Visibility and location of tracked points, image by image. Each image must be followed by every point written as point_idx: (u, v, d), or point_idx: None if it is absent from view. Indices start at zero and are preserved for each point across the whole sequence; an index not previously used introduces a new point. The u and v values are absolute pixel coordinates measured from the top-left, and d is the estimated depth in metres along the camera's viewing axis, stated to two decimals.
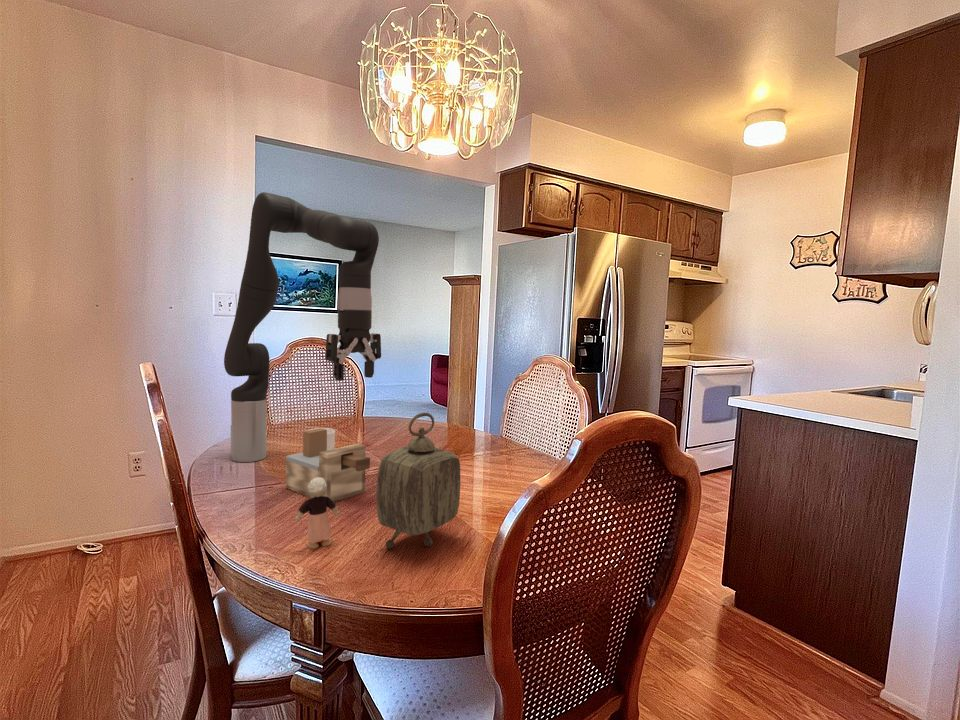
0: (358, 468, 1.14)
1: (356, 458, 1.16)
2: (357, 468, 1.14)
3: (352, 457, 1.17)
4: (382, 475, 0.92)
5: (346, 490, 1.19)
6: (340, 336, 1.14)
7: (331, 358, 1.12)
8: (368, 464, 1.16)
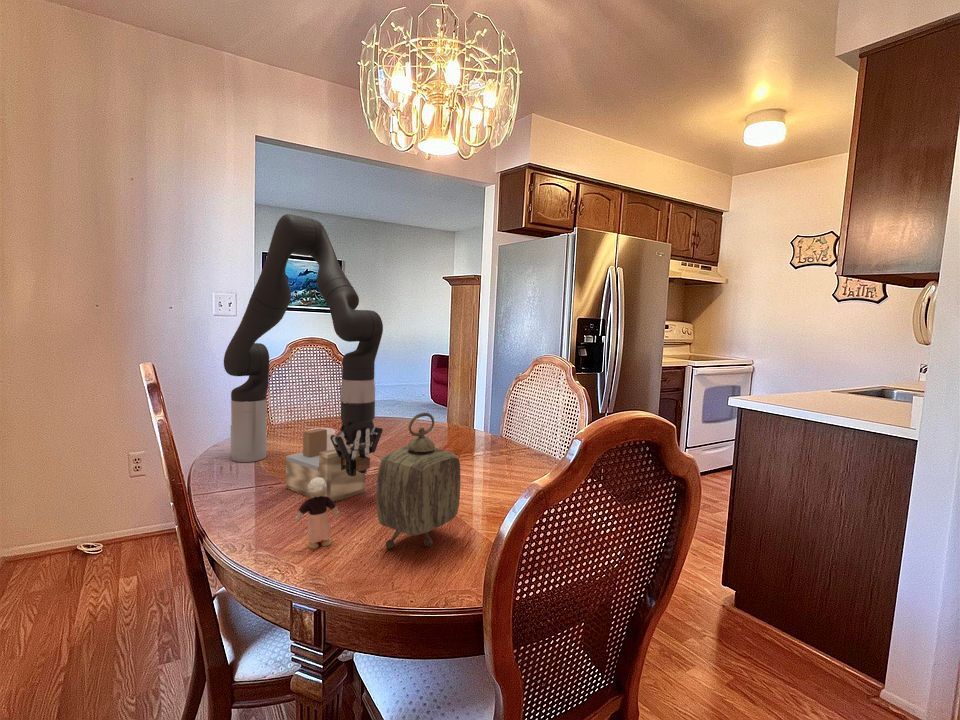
0: (358, 468, 1.14)
1: (356, 458, 1.16)
2: (357, 468, 1.14)
3: None
4: (382, 475, 0.92)
5: (346, 490, 1.19)
6: (343, 433, 1.12)
7: (344, 456, 1.12)
8: (368, 464, 1.16)
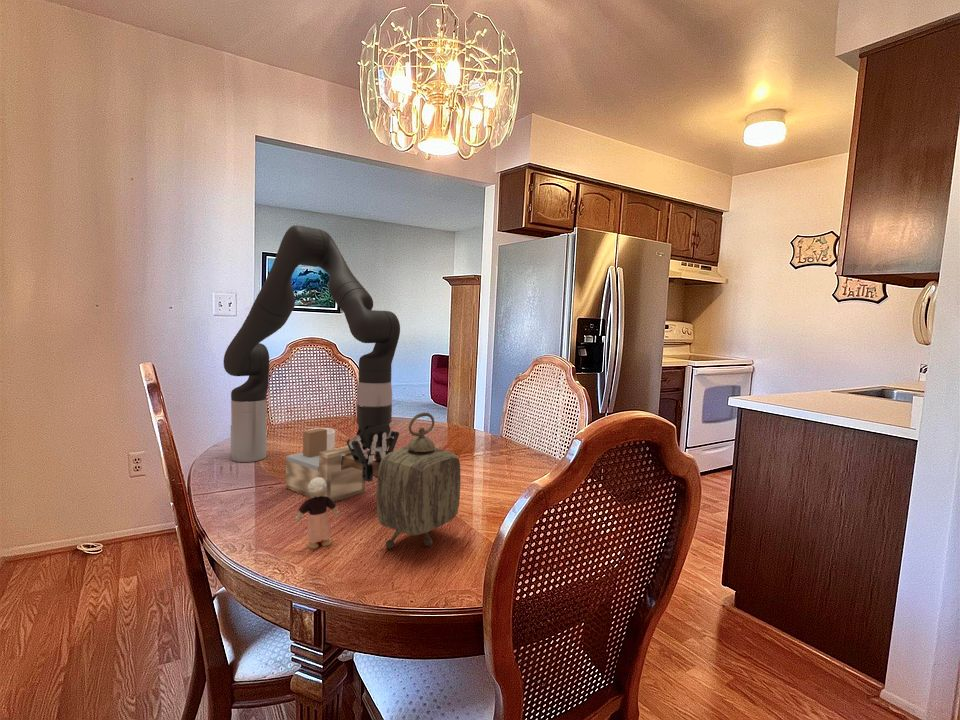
0: (375, 473, 1.10)
1: (372, 463, 1.13)
2: (374, 473, 1.10)
3: None
4: (382, 475, 0.92)
5: (346, 490, 1.19)
6: (359, 437, 1.09)
7: (360, 461, 1.09)
8: None
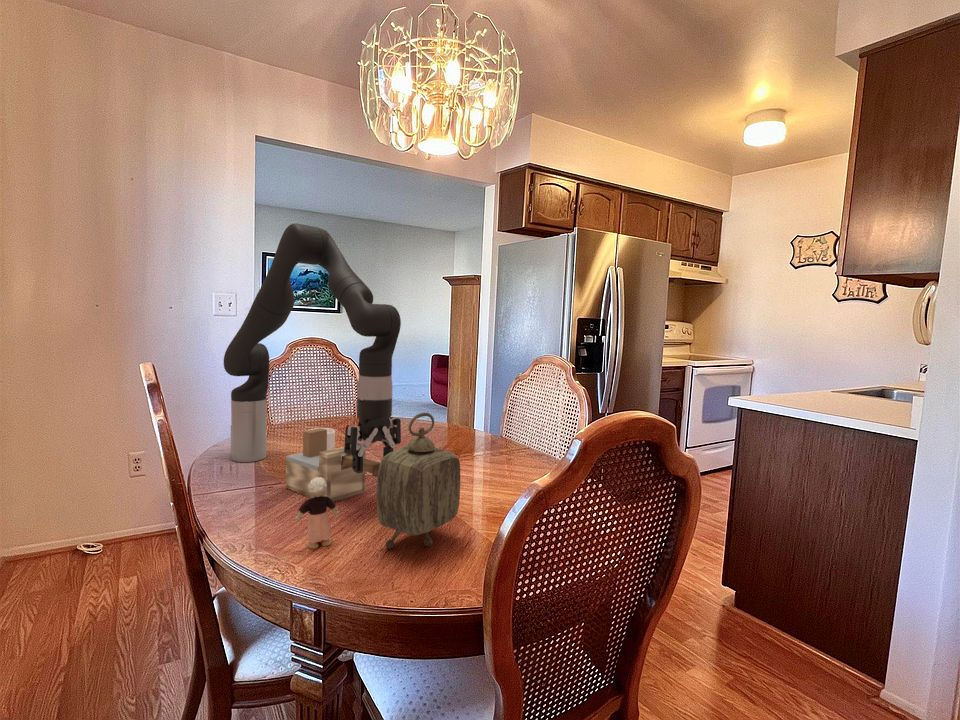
0: (375, 473, 1.10)
1: (372, 463, 1.13)
2: (374, 473, 1.10)
3: (368, 462, 1.14)
4: (382, 475, 0.92)
5: (346, 490, 1.19)
6: (359, 427, 1.08)
7: (350, 452, 1.06)
8: None
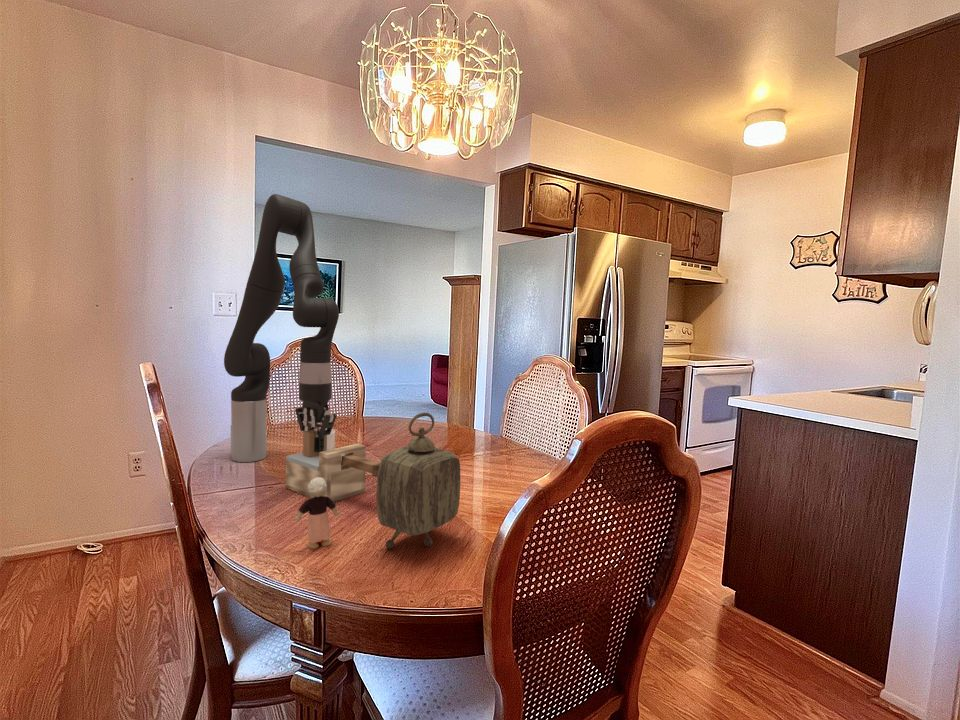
0: (375, 473, 1.10)
1: (372, 463, 1.13)
2: (374, 473, 1.10)
3: (368, 462, 1.14)
4: (382, 475, 0.92)
5: (346, 490, 1.19)
6: None
7: None
8: None
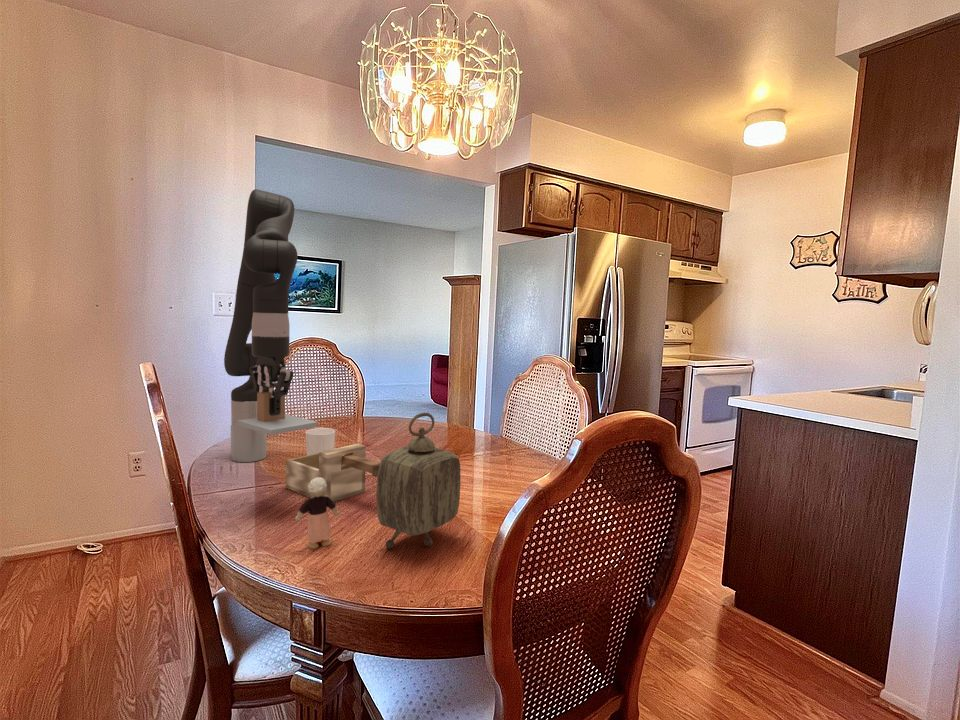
0: (375, 473, 1.10)
1: (372, 463, 1.13)
2: (374, 473, 1.10)
3: (368, 462, 1.14)
4: (382, 475, 0.92)
5: (346, 490, 1.19)
6: (257, 365, 1.12)
7: None
8: None
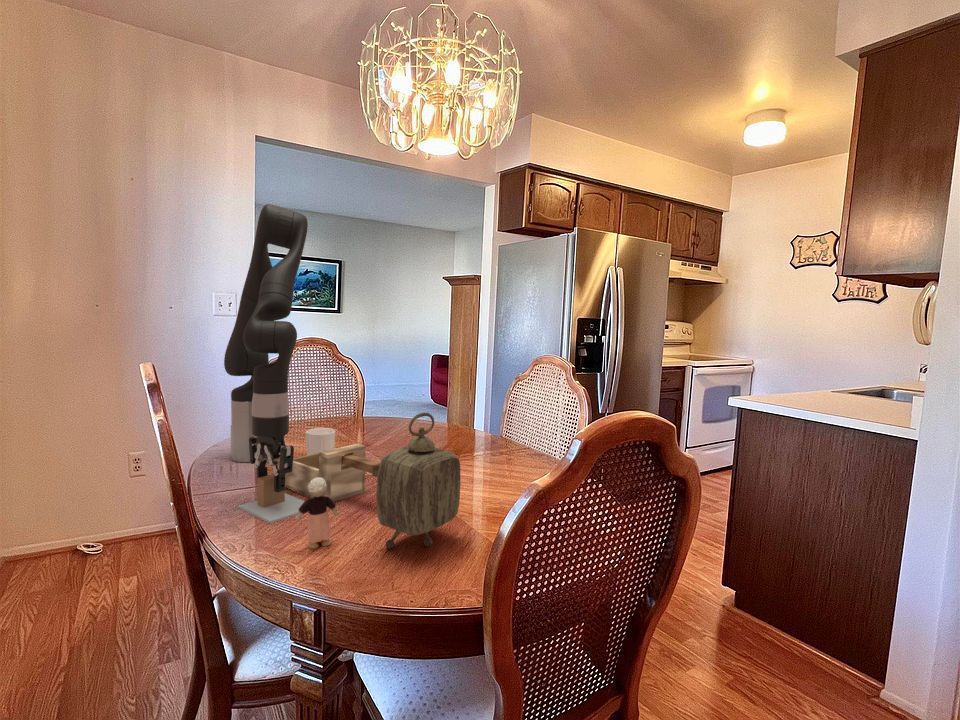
0: (375, 473, 1.10)
1: (372, 463, 1.13)
2: (374, 473, 1.10)
3: (368, 462, 1.14)
4: (382, 475, 0.92)
5: (346, 490, 1.19)
6: None
7: None
8: None
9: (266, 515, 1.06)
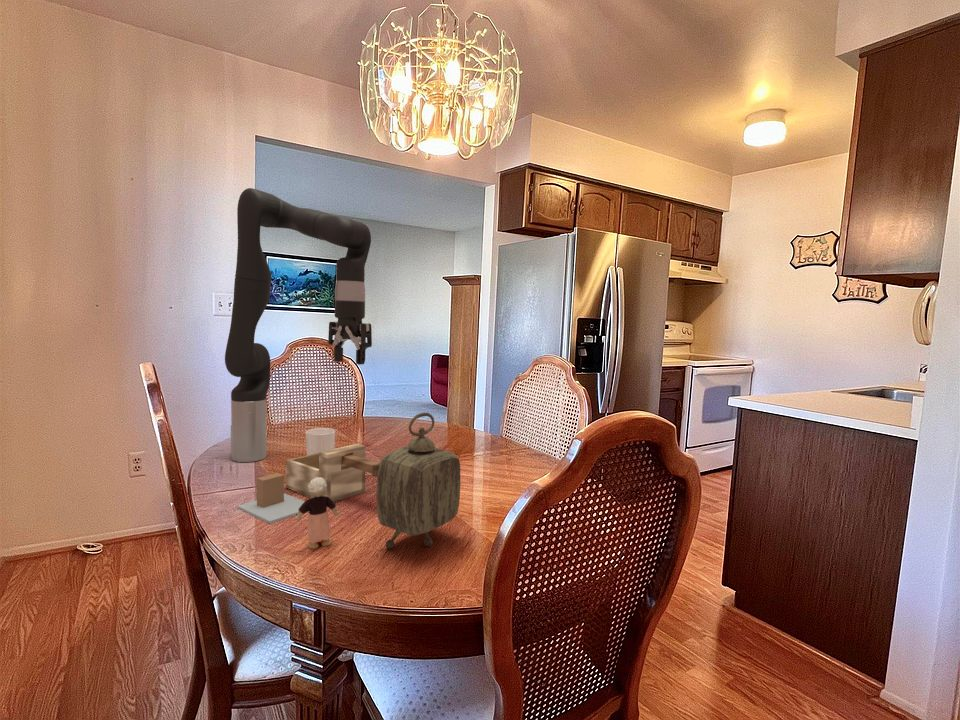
0: (375, 473, 1.10)
1: (372, 463, 1.13)
2: (374, 473, 1.10)
3: (368, 462, 1.14)
4: (382, 475, 0.92)
5: (346, 490, 1.19)
6: (337, 324, 1.33)
7: None
8: None
9: (265, 515, 1.06)
